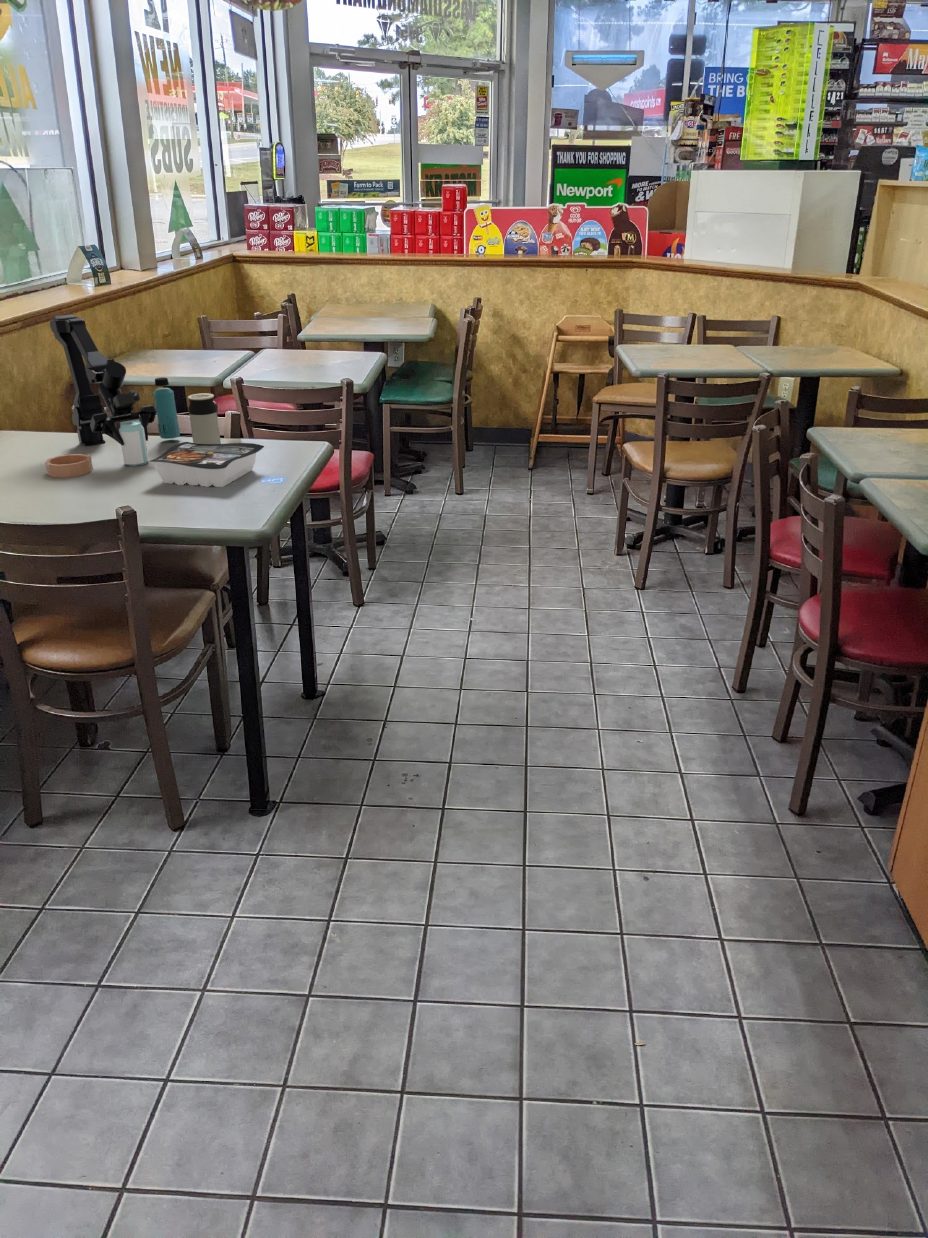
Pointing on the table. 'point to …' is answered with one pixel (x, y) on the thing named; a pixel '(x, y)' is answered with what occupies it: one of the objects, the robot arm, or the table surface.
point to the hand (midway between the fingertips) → (135, 442)
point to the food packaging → (206, 463)
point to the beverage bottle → (166, 410)
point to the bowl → (69, 465)
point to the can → (133, 443)
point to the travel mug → (204, 419)
